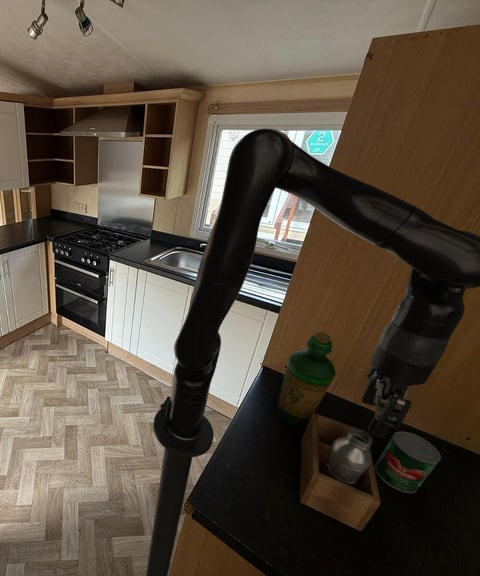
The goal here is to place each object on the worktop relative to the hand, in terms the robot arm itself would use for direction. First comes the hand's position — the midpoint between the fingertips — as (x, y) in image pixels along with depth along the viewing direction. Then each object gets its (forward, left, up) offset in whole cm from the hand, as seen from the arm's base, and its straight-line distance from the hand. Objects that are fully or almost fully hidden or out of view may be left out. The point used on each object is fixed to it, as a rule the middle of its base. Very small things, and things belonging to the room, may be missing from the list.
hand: (370, 418), depth 60 cm
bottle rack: (0, +5, -25) cm, 25 cm away
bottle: (-8, +22, -25) cm, 34 cm away
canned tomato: (+14, +14, -25) cm, 32 cm away
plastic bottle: (0, 0, -25) cm, 25 cm away
